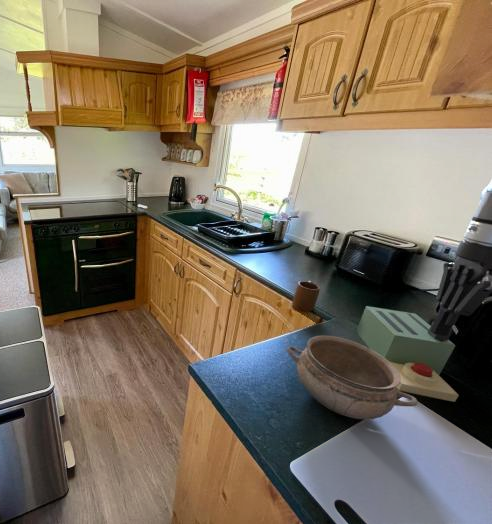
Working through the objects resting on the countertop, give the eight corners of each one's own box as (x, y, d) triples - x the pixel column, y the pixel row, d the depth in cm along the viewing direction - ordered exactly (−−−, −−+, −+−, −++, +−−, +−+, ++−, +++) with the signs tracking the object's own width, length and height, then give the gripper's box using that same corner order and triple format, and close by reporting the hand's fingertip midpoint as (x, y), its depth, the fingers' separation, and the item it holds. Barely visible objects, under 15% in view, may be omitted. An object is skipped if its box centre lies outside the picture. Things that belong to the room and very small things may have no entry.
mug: (295, 296, 120) (300, 276, 117) (315, 302, 117) (322, 281, 113) (290, 307, 111) (296, 285, 108) (312, 314, 107) (319, 291, 104)
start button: (424, 369, 76) (427, 364, 75) (433, 378, 73) (436, 373, 72) (408, 366, 77) (411, 361, 76) (417, 375, 73) (419, 370, 73)
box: (430, 376, 79) (436, 364, 78) (454, 402, 71) (462, 389, 69) (380, 367, 81) (385, 355, 80) (398, 390, 73) (405, 378, 72)
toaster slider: (439, 334, 80) (445, 323, 79) (447, 341, 78) (453, 329, 76) (427, 332, 81) (432, 321, 80) (434, 338, 78) (440, 327, 77)
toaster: (403, 339, 95) (415, 313, 92) (439, 375, 80) (455, 345, 76) (355, 331, 98) (366, 305, 94) (381, 364, 83) (395, 334, 79)
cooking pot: (267, 395, 69) (280, 353, 64) (288, 357, 83) (299, 320, 78) (403, 466, 54) (430, 418, 50) (400, 405, 68) (421, 364, 64)
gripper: (444, 233, 70) (405, 317, 78) (490, 249, 58) (438, 345, 66) (482, 237, 68) (437, 322, 77) (537, 254, 56) (477, 352, 65)
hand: (438, 333), depth 72 cm, fingers closed
